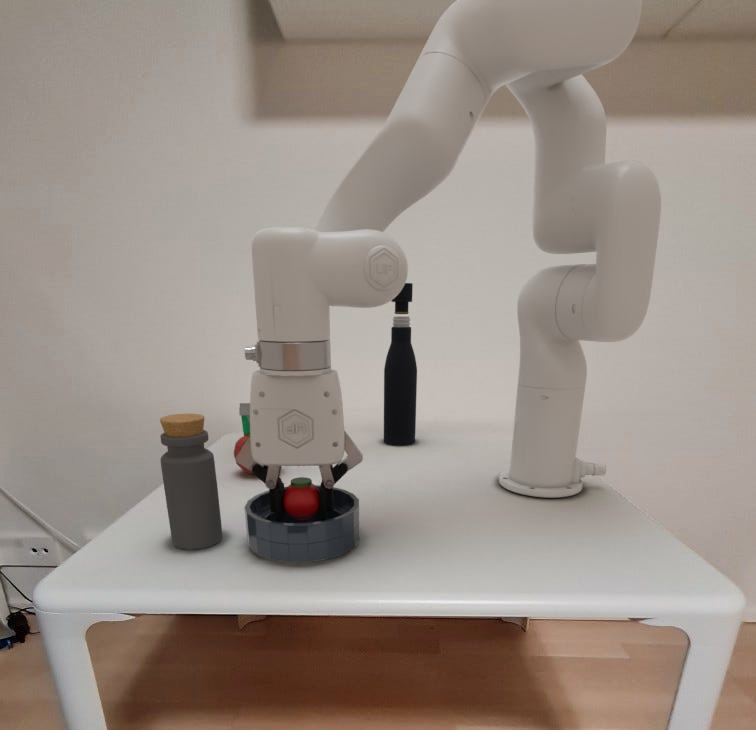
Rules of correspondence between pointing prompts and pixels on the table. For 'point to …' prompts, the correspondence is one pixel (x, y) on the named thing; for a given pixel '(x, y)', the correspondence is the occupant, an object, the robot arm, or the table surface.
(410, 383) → the black water bottle
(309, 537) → the bowl
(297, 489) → the cherry tomato
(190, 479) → the bottle
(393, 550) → the table surface
